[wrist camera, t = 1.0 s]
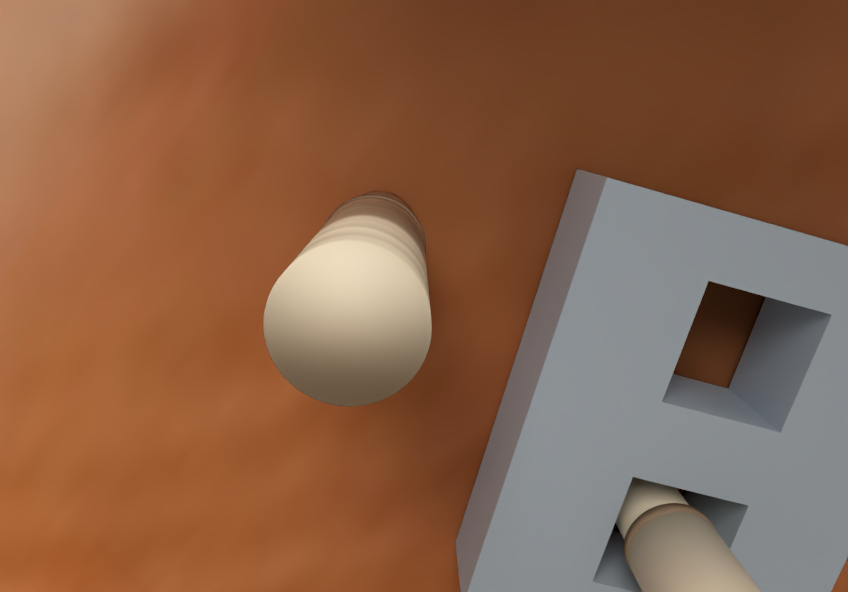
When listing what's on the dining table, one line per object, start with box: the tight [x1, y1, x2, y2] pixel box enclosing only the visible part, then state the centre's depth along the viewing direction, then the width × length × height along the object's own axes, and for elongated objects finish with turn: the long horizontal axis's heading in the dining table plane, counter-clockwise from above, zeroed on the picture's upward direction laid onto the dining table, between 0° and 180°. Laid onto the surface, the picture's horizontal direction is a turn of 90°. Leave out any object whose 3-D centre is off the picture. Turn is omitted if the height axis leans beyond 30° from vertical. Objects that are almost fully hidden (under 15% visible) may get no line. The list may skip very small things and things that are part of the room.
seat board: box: [455, 169, 848, 592], centre depth 27 cm, size 20×16×16 cm
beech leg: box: [264, 191, 432, 406], centre depth 24 cm, size 4×4×16 cm
